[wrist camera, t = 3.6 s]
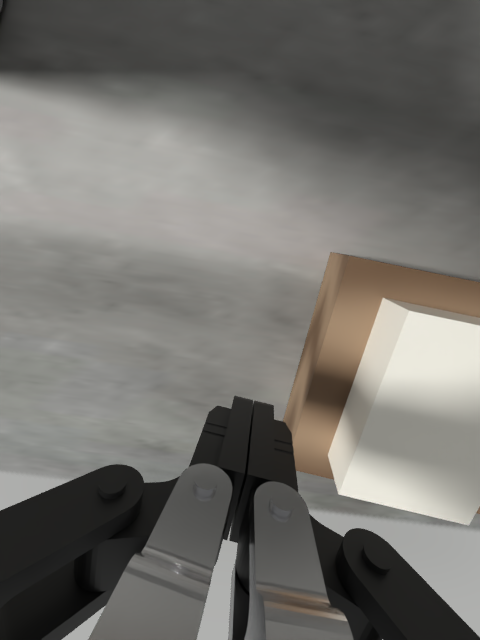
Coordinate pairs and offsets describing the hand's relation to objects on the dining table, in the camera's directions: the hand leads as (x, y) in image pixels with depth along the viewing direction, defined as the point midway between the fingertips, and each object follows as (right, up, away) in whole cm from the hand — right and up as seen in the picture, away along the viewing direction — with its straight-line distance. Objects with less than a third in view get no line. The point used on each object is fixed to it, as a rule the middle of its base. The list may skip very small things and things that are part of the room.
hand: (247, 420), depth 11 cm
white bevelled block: (+8, 0, +3) cm, 9 cm away
